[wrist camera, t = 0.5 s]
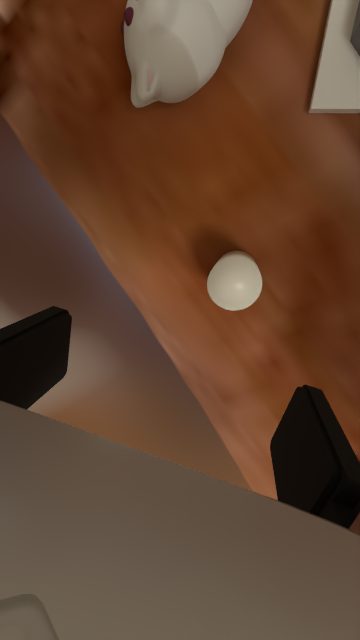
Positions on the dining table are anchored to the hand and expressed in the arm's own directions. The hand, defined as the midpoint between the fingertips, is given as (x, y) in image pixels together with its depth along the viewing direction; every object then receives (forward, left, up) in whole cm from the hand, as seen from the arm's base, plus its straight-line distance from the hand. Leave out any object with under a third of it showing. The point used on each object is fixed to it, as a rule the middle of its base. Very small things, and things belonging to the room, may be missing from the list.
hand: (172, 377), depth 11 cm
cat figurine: (+5, -22, -23) cm, 32 cm away
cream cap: (-2, -1, -23) cm, 23 cm away
